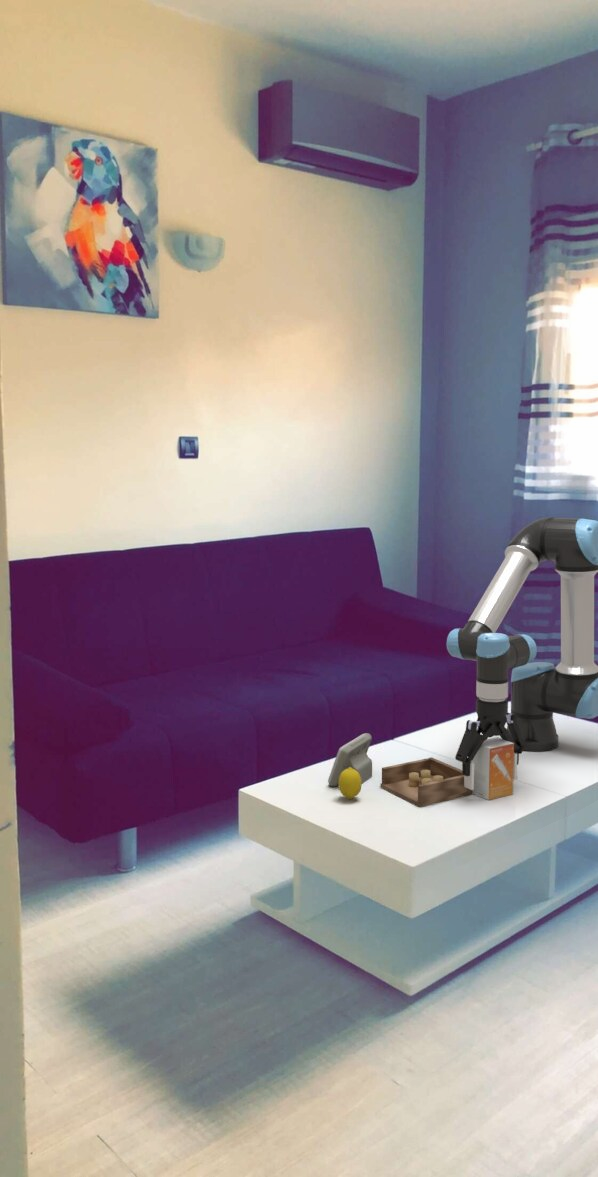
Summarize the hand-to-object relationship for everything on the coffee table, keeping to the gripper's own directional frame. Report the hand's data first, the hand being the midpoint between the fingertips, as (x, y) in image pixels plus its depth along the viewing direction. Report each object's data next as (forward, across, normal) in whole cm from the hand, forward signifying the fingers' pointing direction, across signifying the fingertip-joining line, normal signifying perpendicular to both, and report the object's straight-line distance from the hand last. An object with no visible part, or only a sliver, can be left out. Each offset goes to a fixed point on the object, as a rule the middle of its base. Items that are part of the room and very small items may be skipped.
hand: (490, 783), depth 235 cm
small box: (+3, 0, 0) cm, 3 cm away
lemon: (+3, +31, -15) cm, 35 cm away
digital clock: (+3, +23, -27) cm, 36 cm away
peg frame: (+3, +12, -10) cm, 16 cm away
